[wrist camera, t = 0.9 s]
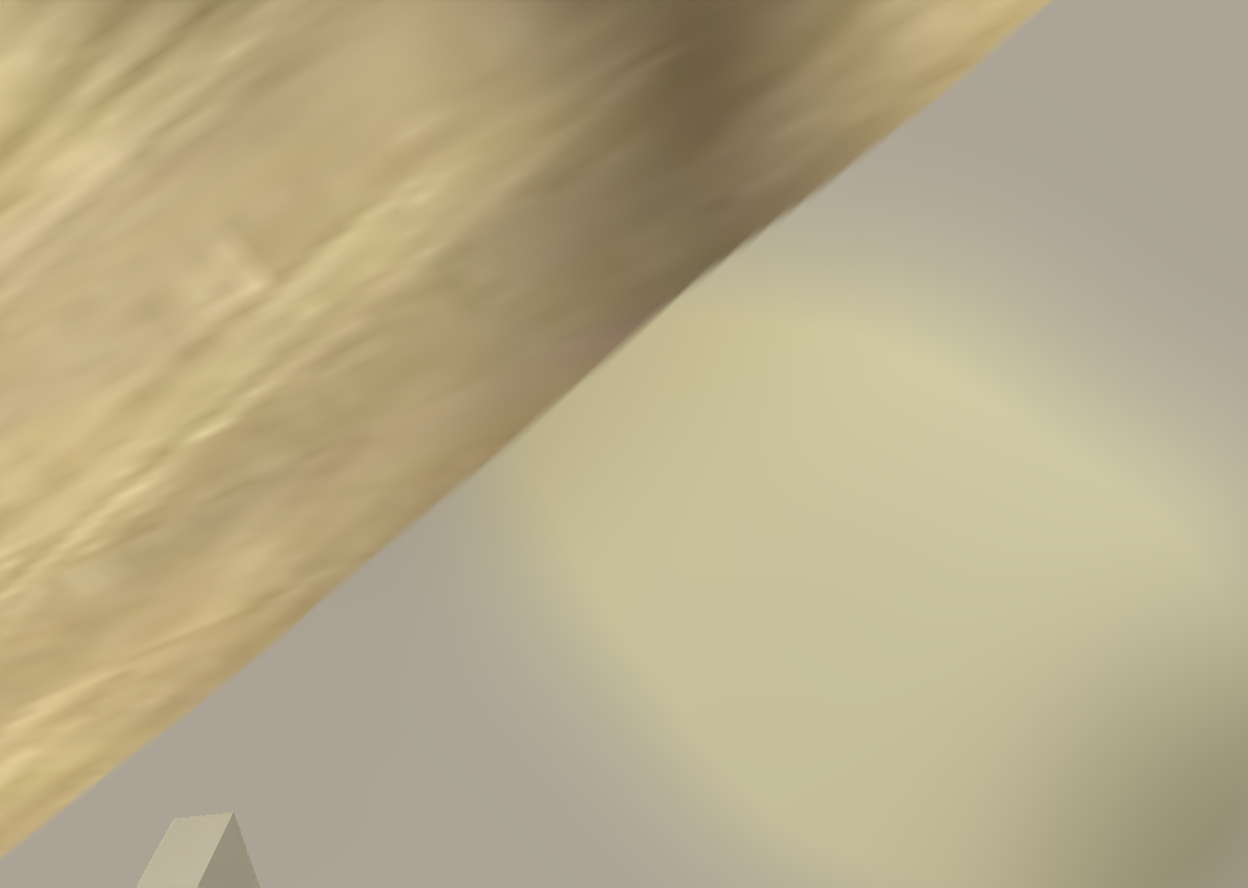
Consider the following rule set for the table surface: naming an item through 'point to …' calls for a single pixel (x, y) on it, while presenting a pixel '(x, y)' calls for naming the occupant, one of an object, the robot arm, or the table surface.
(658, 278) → the table surface
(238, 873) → the robot arm
